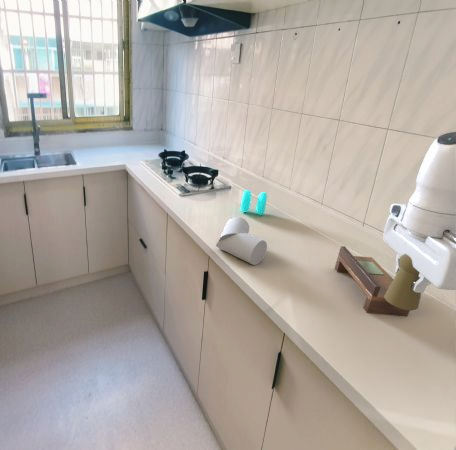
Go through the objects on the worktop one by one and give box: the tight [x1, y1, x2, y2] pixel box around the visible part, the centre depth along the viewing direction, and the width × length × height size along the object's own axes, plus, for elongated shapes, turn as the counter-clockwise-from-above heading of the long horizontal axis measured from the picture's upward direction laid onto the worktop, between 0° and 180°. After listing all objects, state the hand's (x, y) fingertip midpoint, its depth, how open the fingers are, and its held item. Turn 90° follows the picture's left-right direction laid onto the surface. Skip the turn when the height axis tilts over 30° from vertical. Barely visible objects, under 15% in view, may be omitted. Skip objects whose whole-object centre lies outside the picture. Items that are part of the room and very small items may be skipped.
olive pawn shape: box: [384, 254, 422, 311], centre depth 69 cm, size 6×6×11 cm
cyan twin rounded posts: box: [240, 189, 268, 216], centre depth 146 cm, size 10×10×10 cm
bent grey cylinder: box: [215, 216, 268, 266], centre depth 115 cm, size 18×10×20 cm
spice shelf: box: [334, 245, 411, 317], centre depth 95 cm, size 10×22×8 cm, turn 174°
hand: (408, 282), depth 69 cm, fingers closed on olive pawn shape, 4 cm apart
